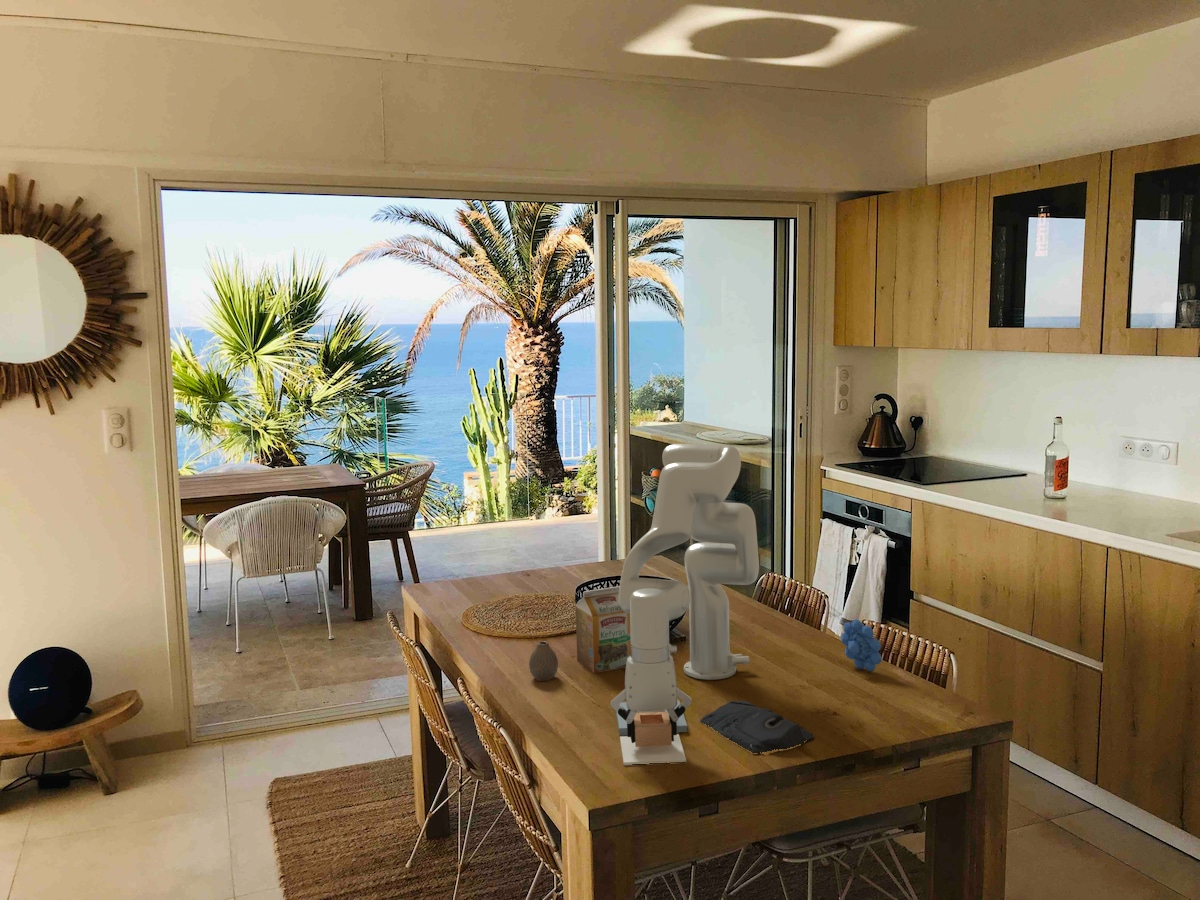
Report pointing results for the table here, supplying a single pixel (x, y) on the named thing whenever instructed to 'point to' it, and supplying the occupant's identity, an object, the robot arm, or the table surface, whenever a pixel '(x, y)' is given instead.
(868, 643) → the grapes
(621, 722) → the post stand
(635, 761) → the white mat
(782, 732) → the dark pouch with grommet
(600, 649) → the milk carton
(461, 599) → the table surface
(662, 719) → the copper link
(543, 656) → the vase
